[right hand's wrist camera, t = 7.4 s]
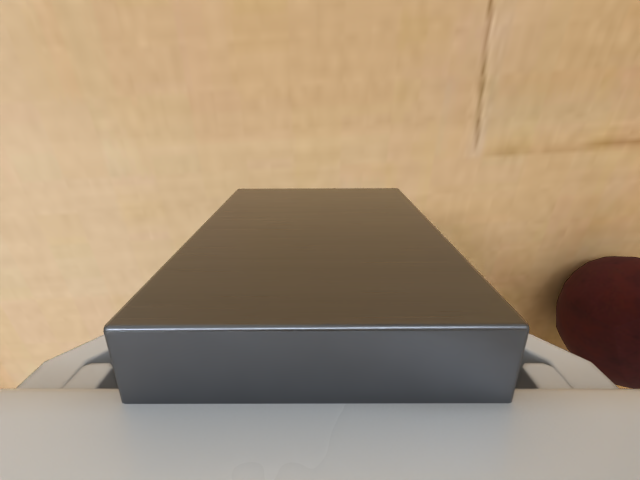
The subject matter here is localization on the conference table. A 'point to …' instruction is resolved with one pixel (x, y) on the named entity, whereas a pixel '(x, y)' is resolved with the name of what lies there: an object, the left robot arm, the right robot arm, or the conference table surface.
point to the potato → (604, 317)
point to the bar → (316, 310)
